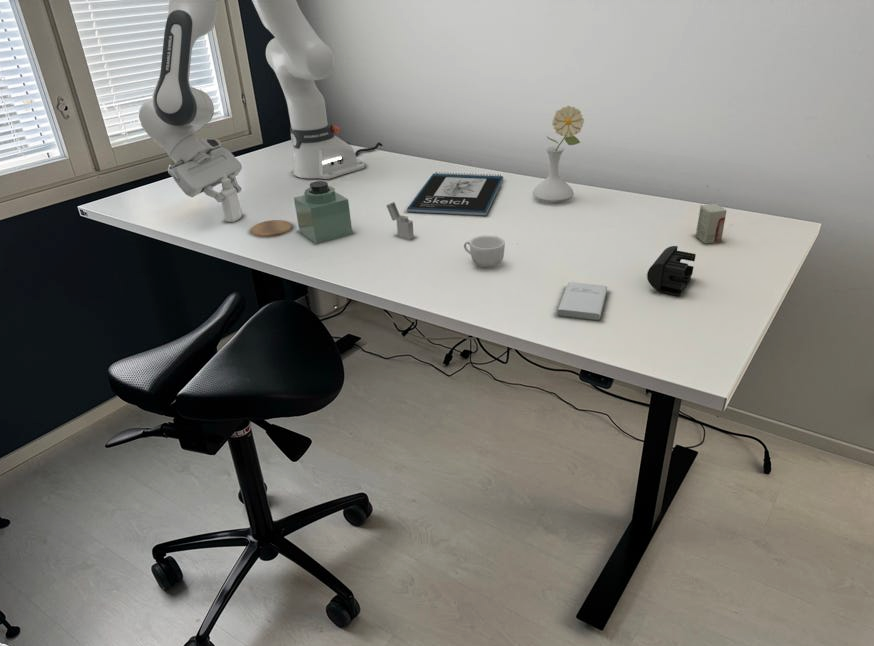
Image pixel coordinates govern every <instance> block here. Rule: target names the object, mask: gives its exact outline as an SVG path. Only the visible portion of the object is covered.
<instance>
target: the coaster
mask: <svg viewBox="0 0 874 646" xmlns="http://www.w3.org/2000/svg"><path fill="white" fill-rule="evenodd" d="M291 230H292V224H291V222H289V221H288V220H287V221H286V220H283V219H282V220H281V219H272V220H265V221H262V222H259V223H257V224H255V225H253V226H252V227H251V234H252V235H253V236H255V237H262V238H269V237H277V236H282V235H284V234H287V233H288V232H290V231H291Z"/></svg>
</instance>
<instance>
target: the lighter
mask: <svg viewBox="0 0 874 646" xmlns="http://www.w3.org/2000/svg"><path fill="white" fill-rule="evenodd" d="M386 208H387V211H388V213H389V216H390V218H391V220H392V221H396V229H397V230H396V232H397V237H400V238H402V239H405V240H412V239H414V237H415V235H414V233H415V232H414V222H413V220H410V219H409V216H407V215H400V212H399V210H398V207H397V205H396V202H395V201H392V202H390V203H388V204H386Z"/></svg>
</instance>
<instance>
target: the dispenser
mask: <svg viewBox="0 0 874 646" xmlns="http://www.w3.org/2000/svg"><path fill="white" fill-rule="evenodd" d="M328 189H329V191H328V192H327V193H322V194H312V193H311V191H310V187H308V188H306V189H305V190H304V192H303V194H302V195H298V196H295V197H293V203H294V207H295V213H296V214H295V215H296V220H297V226H298V231H299V233H301V234H302V235H304V236H305V237H306V238H308V239H309V240H311V241H312V242H313V243H314V244H320V243H324V242H327V241H331V240H334V239H339V238H342V237H345V236H348V235H352V234H353V227H352V226H353V225H352V219H351V211H350V201H349V198H347V197H345V196H343V195H341V194H340V193H338V192H336V188H335V187H334V186H331V185H328Z"/></svg>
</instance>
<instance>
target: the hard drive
mask: <svg viewBox="0 0 874 646" xmlns="http://www.w3.org/2000/svg"><path fill="white" fill-rule="evenodd" d="M607 292H608V286H607V285H603V284H592V283H583V282H575V281H569V282H567V284H566V287H565V288H564V292H563V295H562V297H561V299H560V303H559V306H558V308H557V316H558V317H563V318H572V319H579V320H580V319H582V320H589V321H590V320H591V321H600V319H601V316H602V313H603V312H602V311H603V308H604V304H605V299H606V296H607Z"/></svg>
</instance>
